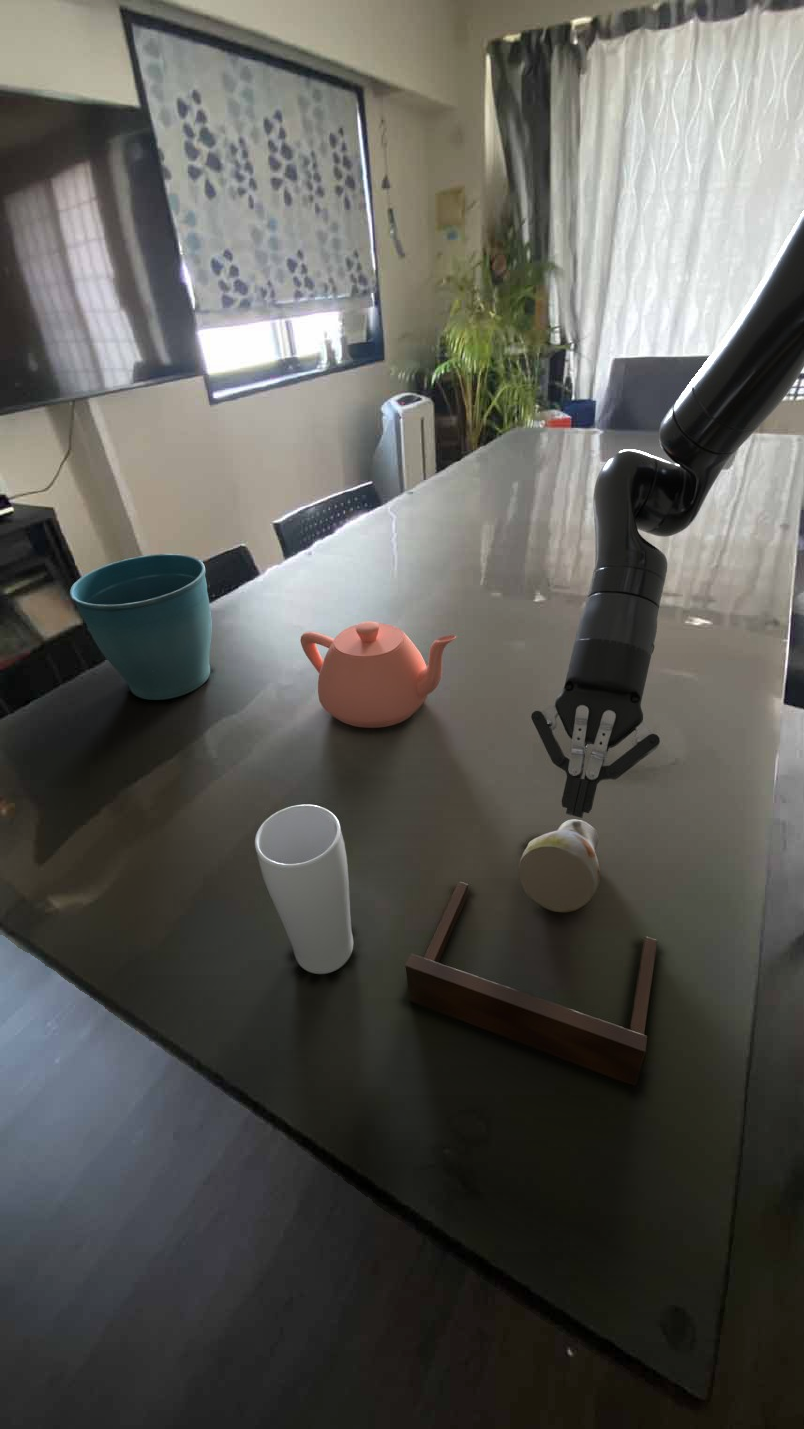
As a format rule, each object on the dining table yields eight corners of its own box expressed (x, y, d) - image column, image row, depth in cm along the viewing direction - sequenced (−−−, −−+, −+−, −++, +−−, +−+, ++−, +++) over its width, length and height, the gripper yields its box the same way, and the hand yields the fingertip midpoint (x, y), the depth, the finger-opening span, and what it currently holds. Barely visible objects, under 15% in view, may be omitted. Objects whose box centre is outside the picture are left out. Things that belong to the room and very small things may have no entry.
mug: (613, 847, 65) (634, 823, 56) (569, 932, 62) (582, 920, 53) (547, 811, 68) (557, 781, 59) (501, 890, 65) (504, 872, 56)
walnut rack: (654, 950, 55) (664, 913, 52) (635, 1086, 46) (645, 1052, 44) (458, 891, 62) (457, 855, 59) (409, 1000, 53) (405, 965, 50)
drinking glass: (335, 997, 54) (307, 880, 45) (272, 965, 57) (234, 849, 48) (376, 935, 59) (358, 818, 50) (316, 908, 61) (289, 793, 53)
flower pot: (172, 642, 109) (142, 546, 99) (255, 663, 101) (231, 560, 91) (85, 697, 96) (40, 593, 86) (172, 725, 89) (134, 614, 79)
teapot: (472, 686, 91) (471, 608, 84) (441, 750, 80) (437, 666, 73) (332, 667, 98) (321, 594, 91) (286, 724, 87) (269, 645, 80)
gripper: (542, 626, 63) (501, 797, 62) (685, 647, 58) (645, 834, 57) (552, 647, 70) (515, 801, 69) (680, 667, 65) (644, 833, 64)
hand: (574, 815), depth 63 cm, fingers closed
